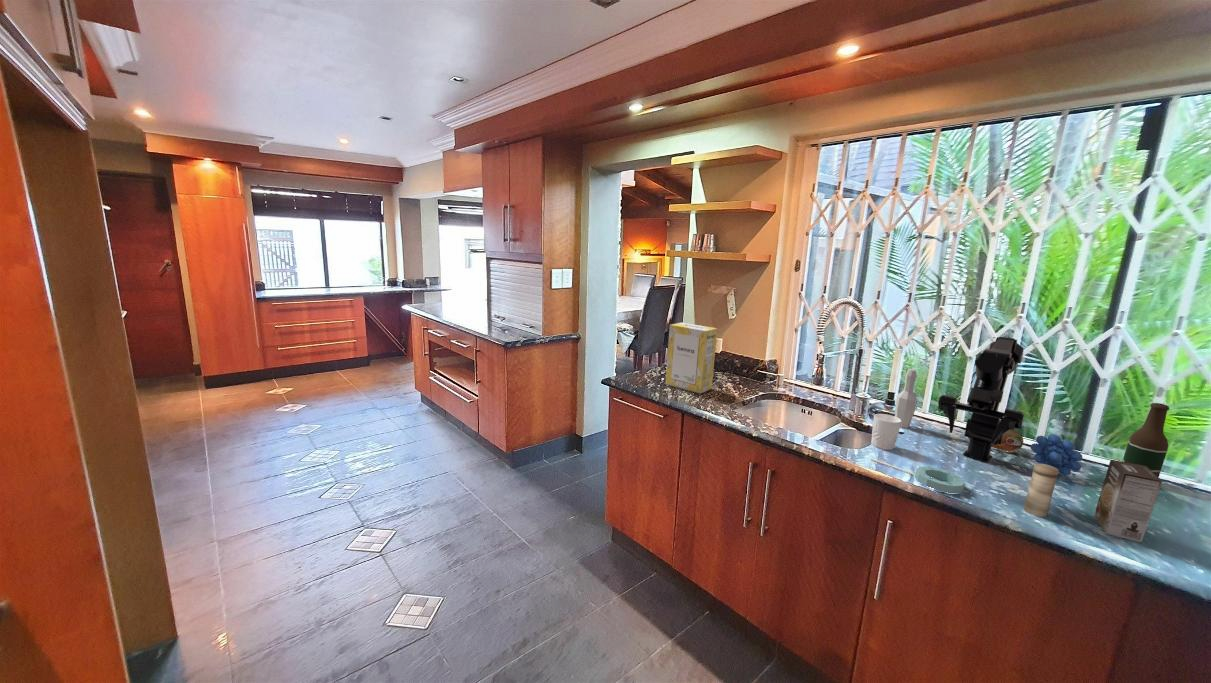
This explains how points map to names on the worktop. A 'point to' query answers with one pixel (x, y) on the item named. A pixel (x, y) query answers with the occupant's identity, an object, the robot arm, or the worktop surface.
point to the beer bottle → (1149, 441)
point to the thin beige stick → (892, 466)
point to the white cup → (885, 431)
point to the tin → (1010, 441)
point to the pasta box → (691, 357)
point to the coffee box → (1127, 500)
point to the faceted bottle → (906, 400)
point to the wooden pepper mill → (1040, 489)
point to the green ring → (952, 480)
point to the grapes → (1057, 454)
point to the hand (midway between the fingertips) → (970, 437)
